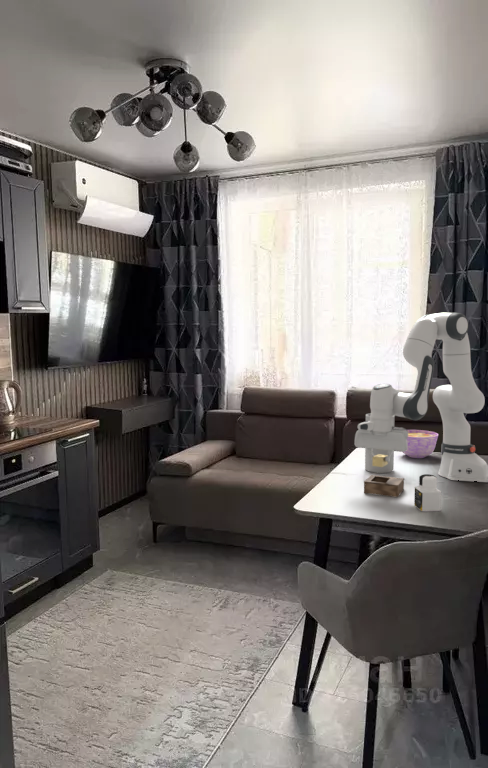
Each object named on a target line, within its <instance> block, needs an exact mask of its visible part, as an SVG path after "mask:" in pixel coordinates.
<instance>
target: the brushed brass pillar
mask: <svg viewBox="0 0 488 768" xmlns="http://www.w3.org/2000/svg"><path fill="white" fill-rule="evenodd" d="M386 456H388V455H380V454H378V455H376V456H374V457H373V463H372V466H377V467H383V466H385V465H387V464H388V462H386V461H385V457H386Z"/></svg>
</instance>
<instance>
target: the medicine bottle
mask: <svg viewBox="0 0 488 768" xmlns="http://www.w3.org/2000/svg"><path fill="white" fill-rule="evenodd" d="M418 480H419V481H418V482H419V483H418V486H415V487H414V500H413V501H414V507H416V508H417V509H418V510H419V511H420V512H423V513H424V512H426V513H427V512H441V511H442V491H441V490H440V489H439V488H438V477H437V476H436V475H435V474H434V475H433V474H421V475H419V479H418Z"/></svg>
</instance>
